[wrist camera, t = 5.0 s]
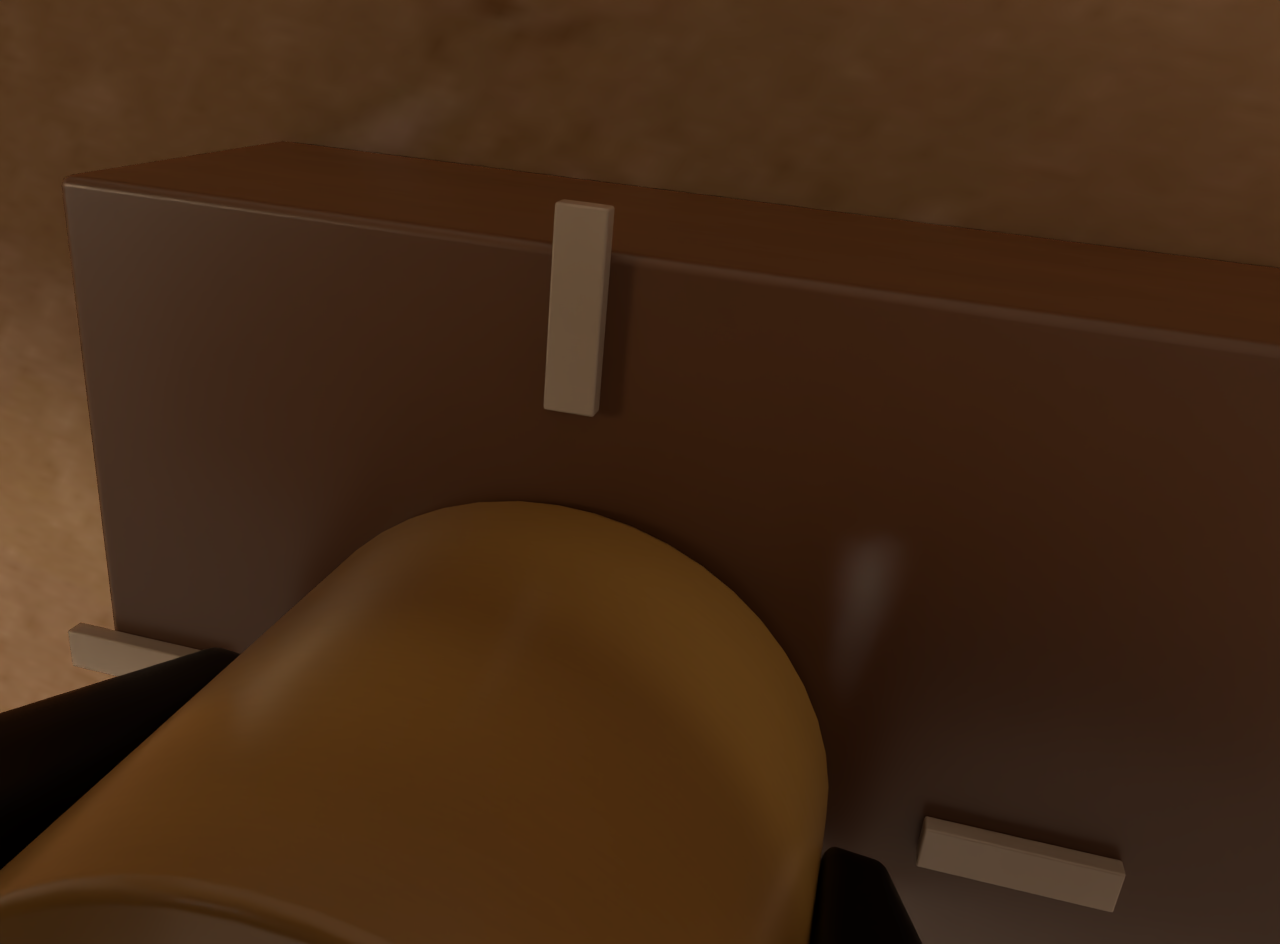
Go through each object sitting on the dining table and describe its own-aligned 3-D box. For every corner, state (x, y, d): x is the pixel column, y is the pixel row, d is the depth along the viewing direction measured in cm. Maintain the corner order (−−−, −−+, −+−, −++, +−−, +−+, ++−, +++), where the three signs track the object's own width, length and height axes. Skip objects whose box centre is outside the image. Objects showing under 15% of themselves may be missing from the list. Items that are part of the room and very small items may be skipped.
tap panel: (250, 104, 10) (-5, 127, 8) (1423, 245, 8) (1674, 350, 6) (291, 908, 14) (136, 1122, 12) (1094, 1128, 13) (1143, 1449, 10)
